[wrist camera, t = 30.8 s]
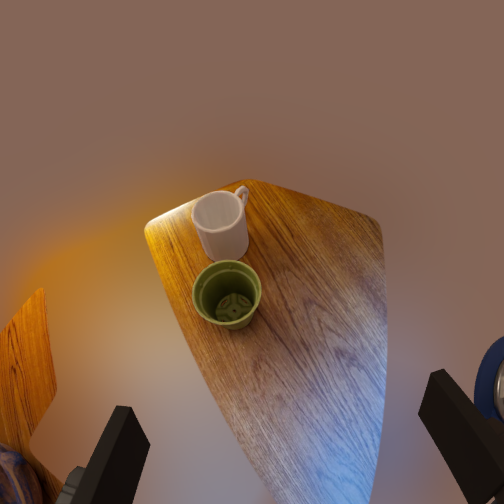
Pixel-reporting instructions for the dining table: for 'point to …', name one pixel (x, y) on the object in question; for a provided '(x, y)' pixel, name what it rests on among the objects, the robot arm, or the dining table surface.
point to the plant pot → (227, 293)
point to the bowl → (17, 479)
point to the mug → (222, 224)
